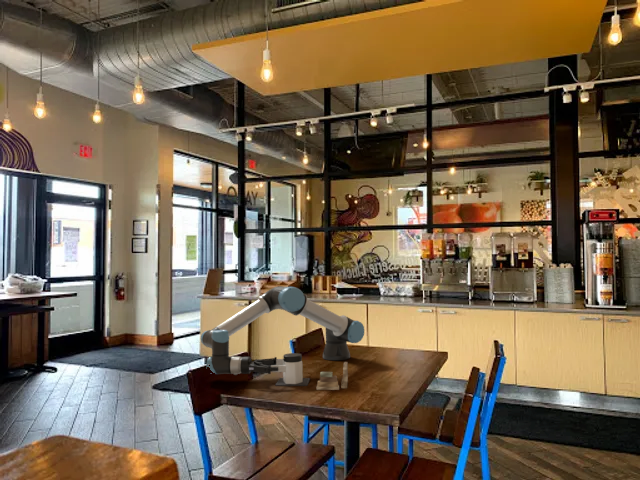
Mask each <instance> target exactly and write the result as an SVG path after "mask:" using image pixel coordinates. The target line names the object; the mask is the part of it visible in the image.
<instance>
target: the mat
mask: <svg viewBox="0 0 640 480" xmlns="http://www.w3.org/2000/svg"><path fill="white" fill-rule="evenodd" d="M310 381H311V378H310V377H303V382H302V383H298V384H285V383H284V382H283V377H279V378H278V380H277V382H276V383H275V387H308V386H309V382H310Z"/></svg>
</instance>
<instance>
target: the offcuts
mask: <svg viewBox="0 0 640 480" xmlns="http://www.w3.org/2000/svg"><path fill="white" fill-rule="evenodd" d="M319 373H320V374H319V380H317V385H318V387H338V385H339V380H338V375H333V371H320V372H319Z"/></svg>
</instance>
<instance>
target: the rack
mask: <svg viewBox="0 0 640 480" xmlns="http://www.w3.org/2000/svg"><path fill="white" fill-rule="evenodd" d="M342 370H343V371H342V373H343V374H342V377H341V383H340V384H341V385H340V384H338V387H318V384H316V386H315V387H316V390H317V391H322V390H323V391H324V390H325V391H331V390H332V391H335V390H337V391H339V390H340V387H341V389H348V383H349V379H348V377H349V373H348V370H349V369H348V361H343V368H342Z"/></svg>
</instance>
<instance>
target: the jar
mask: <svg viewBox="0 0 640 480" xmlns="http://www.w3.org/2000/svg"><path fill="white" fill-rule="evenodd" d="M282 359H283V365H286V372H282V378H283V382H284V383H285V384H298V383H302V382H303V378H304V376H303V374H304V373H303V361H302V360H303V356H302V353H297V352H296V353H294V352H292V353H291V352H290V353H285V354H283V358H282Z"/></svg>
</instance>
